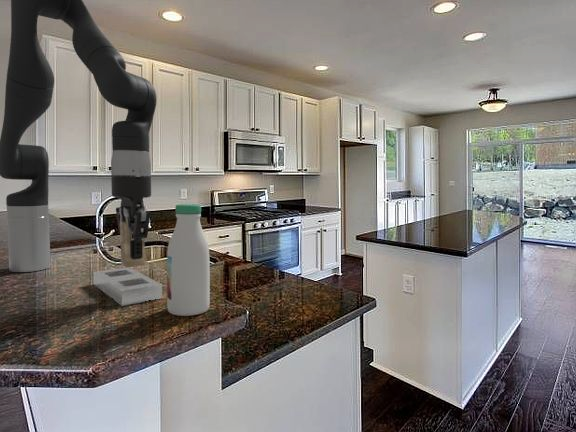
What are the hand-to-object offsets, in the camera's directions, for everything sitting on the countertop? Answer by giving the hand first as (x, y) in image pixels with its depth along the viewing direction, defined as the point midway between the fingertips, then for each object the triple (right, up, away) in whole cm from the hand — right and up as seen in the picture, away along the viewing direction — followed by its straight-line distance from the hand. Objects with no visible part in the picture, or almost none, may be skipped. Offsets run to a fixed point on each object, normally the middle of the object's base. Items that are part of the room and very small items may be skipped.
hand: (132, 256), depth 78 cm
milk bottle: (+14, -9, -7) cm, 18 cm away
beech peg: (0, -2, 0) cm, 2 cm away
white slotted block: (-3, -8, +4) cm, 10 cm away
